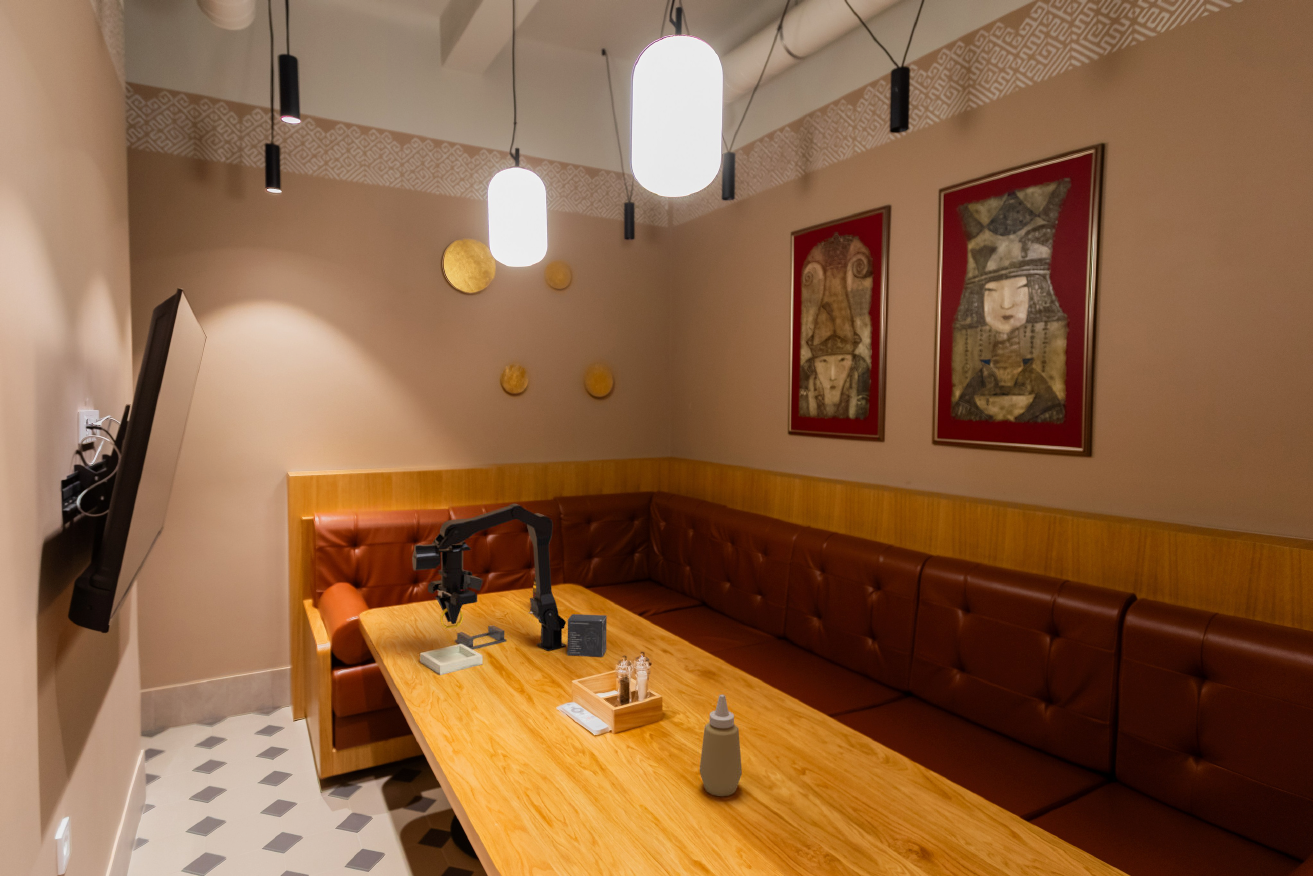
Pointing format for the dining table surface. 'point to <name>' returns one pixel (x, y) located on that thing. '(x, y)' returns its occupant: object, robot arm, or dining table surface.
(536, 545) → the robot arm
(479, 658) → the parts tray
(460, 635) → the grey rectangular open frame
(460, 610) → the watch
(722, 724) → the squeeze bottle
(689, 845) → the dining table surface
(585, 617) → the box
